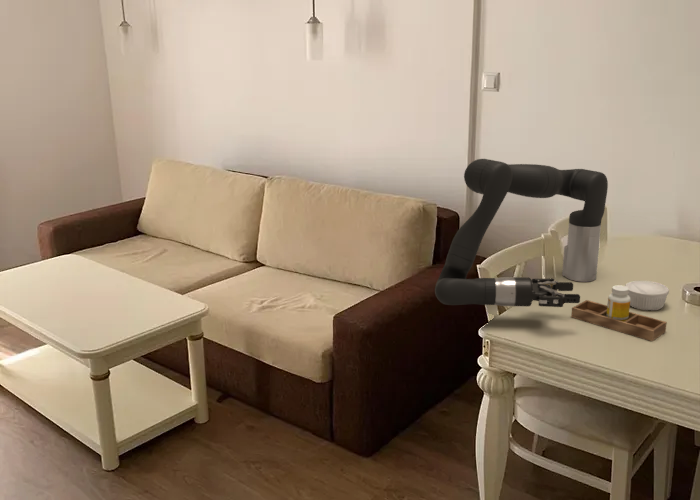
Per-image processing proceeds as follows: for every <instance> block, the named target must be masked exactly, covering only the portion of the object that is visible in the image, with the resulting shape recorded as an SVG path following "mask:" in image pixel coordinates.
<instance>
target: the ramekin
mask: <svg viewBox="0 0 700 500" xmlns="http://www.w3.org/2000/svg"><path fill="white" fill-rule="evenodd" d="M624 286H626V287H628V288H629V293H628V294H627V295H628V296H629V297H630V307H631V306H632V308H633V307H634V309H636V308H637V310H640V309H641V311H648V310H651V311H658V310H661V309H662V308H663V307H664V306H665V303H666V300H667V297H668V295H669V294H670V293H669V292H670V289H669V288H668V286H667V285H664V283H663V284H662V283H660V282H656V281H652V280H633V281H628V282H626V284H624Z"/></svg>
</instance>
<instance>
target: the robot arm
mask: <svg viewBox="0 0 700 500" xmlns="http://www.w3.org/2000/svg"><path fill="white" fill-rule="evenodd" d="M463 177H464V183H465V185H466V186H467V188H468V189H469V190H470V191H472V192H474V193H475V194H479V195H482V198H481V201H480V203H479V205H478V207H477V208H476V210H475V211H474V212H473V213H472V215H470V217H469V218H468V219H467V220H466V221H465V222H464V223H463V224H462V226H460V227H459V228H458V230H457V231H456V233H455V235H454V237H453V238H452V241H451V244H450V247H449V249H448V253H447V255H446V260H445V263H444V265H443V268H442V269H441V272H440V274H439V276H438V279H437V281H436V283H435V286H434V295H435V297H436V298H437V300H438V301H439V303H441V304H442V305H446V306H465V305H480V306H501V307H531V306H532V303H533V301H535V302H538V307H545V308H546V307H547V308H548V307H549V308H552V307H553V308H563V307H564V305H565V304H580V303H581V296H580V294H579V293H561V292H572V291H573V290H574V283H573V282H570V281H569V282H568V281H567V282H566V281H565V282H564V281H563V282H562V281H558V280H555V278H553V277H552V278H551V277H550V278H532V279H531V277H523V276H522V277H521V276H520V277H518V276H515V277H513V276H512V277H511V276H509V277H508V276H505V277H504V276H501V277H495V278H494V277H479V278H478V277H477V278H467V276H468V273H469V272H470V270H471V268H472V267H473V265H474V261H475V259H476V256H477V254H478V251H479V247H480V245H481V243H482V240H483V238H484V236H485V234H486V232H487V230H488V228H489V226H490V225H491V223H492V222H493V219H495V216H496V214H497V212H498V210H499V209H500V207H501V205H502V203H503V201H504V200H505V198H506V196H507V194H508V193H509V194H513V195H517V196H522V197H527V198H533V199H549V198H552V197H554V196H556V195H558V196H559V195H560V196H564V197H567V198H571V199H574V200H578V201H581V202H584V205H583V208H582V209H580V210H579V209H578V210H574V211H571V213H570V214H569V218H568V229H567V231H568V232H567V243H566V245H565V246H564V247H563V259H562V270H561V271H562V272H561V276H562V277H565V278H566V279H568V280H571V281H575V282H581V283H583V282H585V283H586V282H593V281H595V280H596V279H597V273H598V262H599V253H600V251H599V250H600V243H601V242H600V240H601V230H602V229H601V227H602V220H603V216H604V214H605V209H606V203H607V202H606V201H607V195H608V187H609V183H608V178H607V176H606V174H604V173H603V172H602V171H601V172H600V171H596V170H591V169H585V168H572V169H558V168H557V167H555V166H550V165H544V164H537V163H536V164H533V163H531V164H530V163H528V164H527V163H516V164H515V163H510V164H509V163H506V162H503V161H499V160H493V159H487V158H478V159H475V160H473V161H472V162H470V163H469V164H468V165H467V167H466V168H465V171H464V173H463ZM558 291H559V292H558Z"/></svg>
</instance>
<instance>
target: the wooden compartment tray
mask: <svg viewBox="0 0 700 500" xmlns="http://www.w3.org/2000/svg"><path fill="white" fill-rule="evenodd" d="M607 305H608V304H607ZM607 305H606V304H602V303H599V302H595V301H591V300H588V299H586V300H584V301H582V302H579V303H577V304H576V305H575V306H573V307H571V317H570V318H574V319H576V320H579V321H582V322H587V323H589V324H593V325H596V326H600V327H604V328H606V329H610V330H613V331H617V332H620V333H623V334H626V335H629V336H633V337H637V338H640V339H643V340H647V341H650V342H653V341H654V340H656V339H657V338H659V337H660V336H662V335H664V334H665V333H666V332H667V331H666V330H667V321H664V320H661V319H657V318H654V317H649V316H646V315H643V314H639V313H635V312H632V311H629V317H628V320H626V321H625V322H623V321H620V320H616V319H613V318H609V317H606V315H607Z"/></svg>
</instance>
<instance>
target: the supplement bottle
mask: <svg viewBox="0 0 700 500" xmlns="http://www.w3.org/2000/svg"><path fill="white" fill-rule="evenodd" d="M628 293H629V288H628V287H626V286H625V285H621V284H620V285H619V284H617V285H613V286H612V287H611V293H610V294H609V295H608V298H607V315H606V317H609V318H613V319H616V320H620V321H623V322H625V321H626V320H628V317H629V312H630V307H631V306H630V297H629V296H628V295H627V294H628Z"/></svg>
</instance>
